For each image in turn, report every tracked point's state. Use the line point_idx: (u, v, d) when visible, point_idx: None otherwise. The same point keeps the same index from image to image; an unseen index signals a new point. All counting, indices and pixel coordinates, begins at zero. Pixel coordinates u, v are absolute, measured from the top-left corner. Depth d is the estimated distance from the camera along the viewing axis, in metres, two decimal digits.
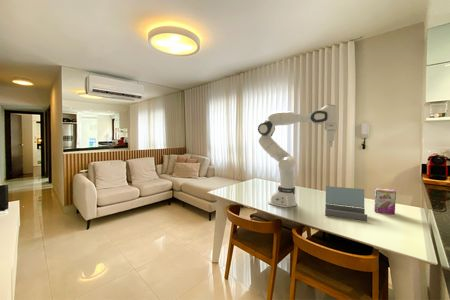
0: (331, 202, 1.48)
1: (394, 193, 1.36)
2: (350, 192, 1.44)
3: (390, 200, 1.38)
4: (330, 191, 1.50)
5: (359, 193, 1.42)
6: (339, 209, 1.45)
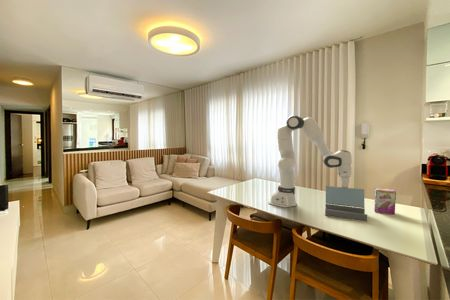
0: (331, 202, 1.48)
1: (394, 193, 1.36)
2: (350, 192, 1.44)
3: (390, 200, 1.38)
4: (330, 191, 1.50)
5: (359, 193, 1.41)
6: (339, 209, 1.45)
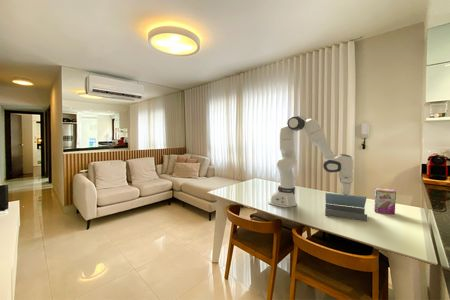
0: (331, 203, 1.48)
1: (394, 193, 1.36)
2: (351, 198, 1.37)
3: (390, 200, 1.38)
4: (330, 197, 1.43)
5: (360, 200, 1.35)
6: (339, 209, 1.45)
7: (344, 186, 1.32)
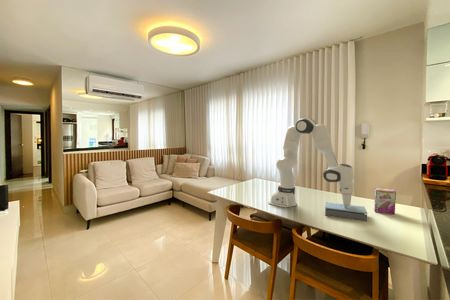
0: None
1: (394, 193, 1.36)
2: None
3: (390, 200, 1.38)
4: None
5: None
6: None
7: (344, 197, 1.29)
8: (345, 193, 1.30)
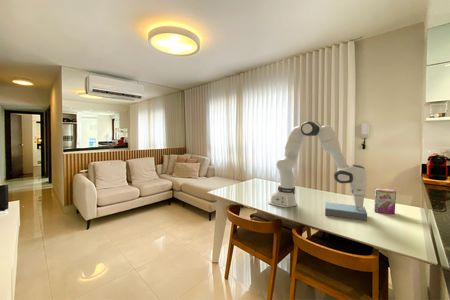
0: None
1: (394, 193, 1.36)
2: None
3: (390, 200, 1.38)
4: None
5: None
6: None
7: (356, 199, 1.26)
8: (357, 195, 1.26)
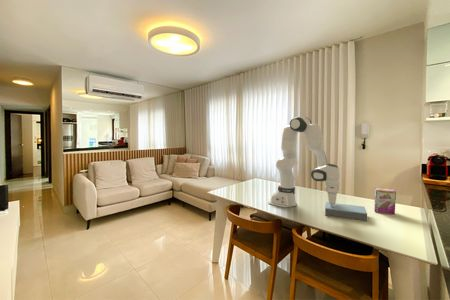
0: None
1: (394, 193, 1.36)
2: None
3: (390, 200, 1.38)
4: None
5: None
6: None
7: (330, 196, 1.33)
8: (330, 192, 1.33)
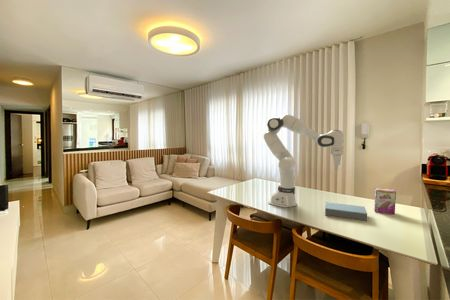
0: None
1: (394, 193, 1.36)
2: None
3: (390, 200, 1.38)
4: None
5: None
6: None
7: (335, 157, 1.45)
8: (335, 154, 1.45)
